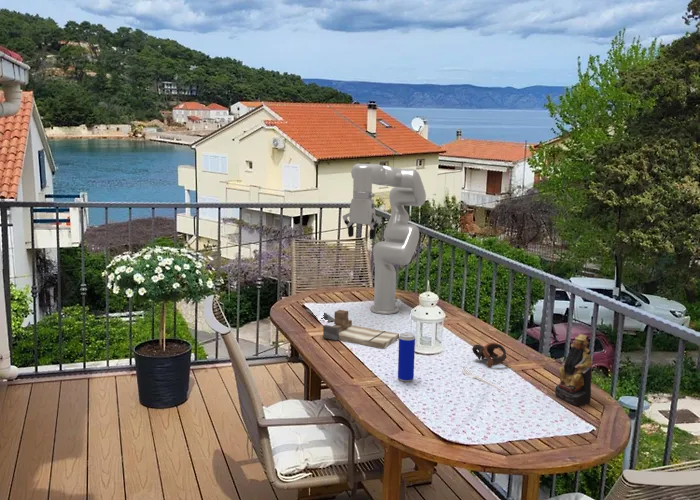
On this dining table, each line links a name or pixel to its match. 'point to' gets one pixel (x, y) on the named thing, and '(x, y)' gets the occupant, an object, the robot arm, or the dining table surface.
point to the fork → (479, 378)
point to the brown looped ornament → (490, 353)
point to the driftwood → (323, 315)
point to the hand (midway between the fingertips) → (361, 237)
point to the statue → (576, 374)
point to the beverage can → (406, 357)
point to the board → (368, 336)
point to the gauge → (337, 325)
